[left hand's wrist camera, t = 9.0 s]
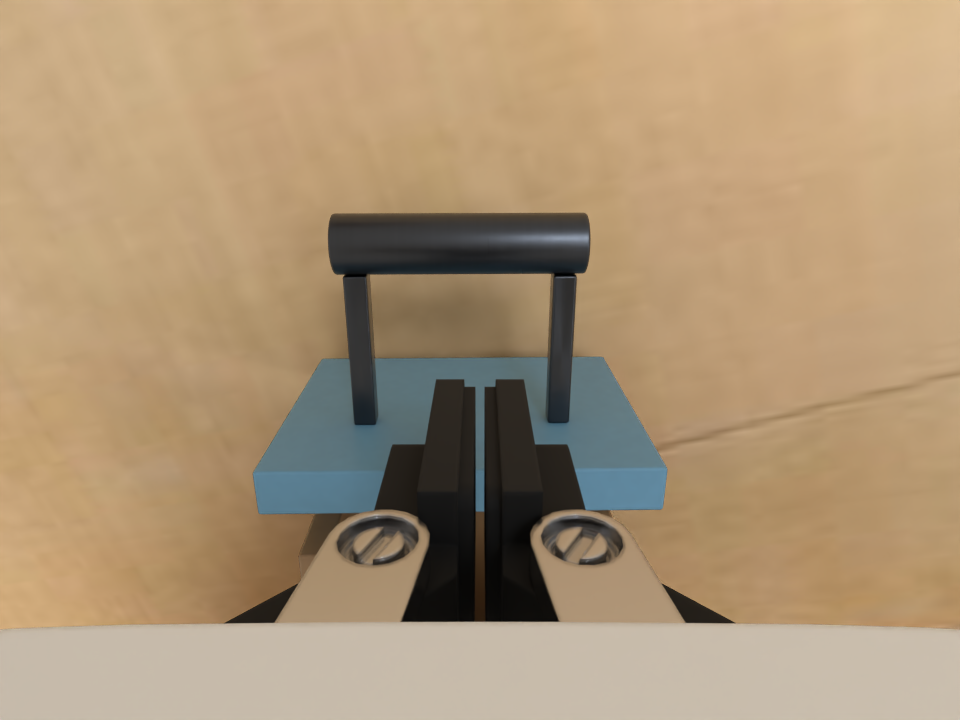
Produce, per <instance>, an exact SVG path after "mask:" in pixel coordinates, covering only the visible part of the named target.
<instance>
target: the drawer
mask: <svg viewBox="0 0 960 720" xmlns="http://www.w3.org/2000/svg"><path fill="white" fill-rule="evenodd" d="M328 250H329V258H330V263H331V267H332V270H333V272H334V273H335V274H337V275H344V277H343V287H344V299H345V312H346V325H347V338H348V351H349V359H322V360H321V362H320V363H319V365H318V367H317V368H316V370H315V372H314V373H313V375H312V377H311V378H310V380H309V381H308V383H307V385H306V386H305V388H304V390H303V391H302V393H301V395H300V396H299V398H298V400H297V401H296V403H295V404H294V406H293V408H292V409H291V411H290V413H289V414H288V416H287V418H286V419H285V421H284V423H283V424H282V426H281V427H280V429H279V431H278V432H277V434H276V436H275V437H274V439H273V441H272V442H271V444H270V446H269V447H268V449H267V450H266V452H265V454H264V455H263V457H262V459H261V460H260V462H259V464H258V465H257V467H256V469H255V470H254V472H253V478H254V485H255V492H256V499H257V506H258V512H259V514H315V515H314V517H313V520H312V523H311V525H310V528H309V530H308V533H307V536H306V538H305V541H304V543H303V546H302V548H301V551H300V554H299V564H300V572H301V579H302V577H303V575H304V574H305V572H306V571H307V569H308V567H309V566H310V564H311V562H312V561H313V559H314V558H315V556H316V554H317V553H318V551H319V549H320V548H321V546H322V545H323V543H324V541H325V540H326V538H327V536H328V535H329V533H330V532H331V531H332V530H333V529H334V528H335V527H336V526H337V525H338V524H339V523H341V522H342V521H344V520H346V519H347V518H349V517H351V516H354V515H357V514H359V513H362V512H367V511H373V510H374V509H375V505H376V501H377V498H378V494H379V490H380V487H381V483H382V479H383V476H384V472H385V468H386V465H387V461H388V457H389V454H390V450H391V447H392V445H393V444H425V441H426V435H427V429H428V423H429V418H430V412H431V406H432V400H433V394H434V388H435V383H436V379H464V382H465V387H475V391H476V553H475V622H485V553H484V391H485V387H495V382H496V379H524V383H525V388H526V394H527V400H528V406H529V412H530V418H531V423H532V429H533V435H534V441H535V444H567V445H568V447H569V450H570V454H571V457H572V461H573V465H574V468H575V472H576V476H577V479H578V483H579V487H580V490H581V494H582V498H583V501H584V505H585V509H586V510H587V511H593V512H598V513H601V514H603V515H606V516H609V517H611V518H612V515H611V513H610V510H660V509H662V508H663V503H664V494H665V486H666V477H667V467H666V465H665V464H664V462H663V460H662V458H661V457H660V455H659V453H658V452H657V450H656V448H655V446H654V445H653V443H652V441H651V439H650V438H649V436H648V434H647V433H646V431H645V429H644V427H643V426H642V424H641V422H640V420H639V419H638V417H637V415H636V413H635V412H634V410H633V408H632V407H631V405H630V403H629V401H628V400H627V398H626V396H625V394H624V393H623V391H622V389H621V387H620V386H619V384H618V382H617V381H616V379H615V377H614V375H613V374H612V372H611V370H610V368H609V367H608V365H607V363H606V362H605V360H604V358H603V357H573V339H574V321H575V302H576V284H577V277H576V275H575V273H585V272H586V269H587V266H588V262H589V255H590V225H589V219H588V216H587V214H585V213H387V214H333V215H332V216H331V218H330V221H329V227H328ZM370 274H551V286H550V312H549V337H548V357H510V358H375V352H374V336H373V320H372V304H371V288H370Z"/></svg>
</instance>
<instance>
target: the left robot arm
mask: <svg viewBox="0 0 960 720" xmlns="http://www.w3.org/2000/svg"><path fill="white" fill-rule="evenodd" d="M475 553H476V391H475V387H465V382H464V379H436V383H435V388H434V394H433V400H432V406H431V412H430V418H429V423H428V429H427V435H426V441H425V444H393V445H392V447H391V450H390V454H389V457H388V461H387V465H386V468H385V472H384V476H383V479H382V483H381V487H380V490H379V494H378V498H377V501H376V505H375V509H374V510H373V511H367V512H362V513H359V514H357V515H354V516H351V517H349V518H347V519H346V520H344V521H342V522H341V523H339V524H338V525H337V526H336V527H335V528H334V529H333V530H332V531H331V532H330V533H329V535H328V536H327V538H326V540H325V541H324V543H323V545H322V546H321V548H320V549H319V551H318V553H317V554H316V556H315V558H314V559H313V561H312V562H311V564H310V566H309V567H308V569H307V571H306V572H305V574H304V575H303V577H302V579H301V580H300V582H299V583H298V584H296V585H295V586H293V587H291V588H289V589H287V590H285V591H283V592H282V593H280V594H278V595H276V596H274V597H272V598H270V599H269V600H267V601H265V602H263V603H261V604H259V605H257V606H255V607H254V608H252V609H250V610H248V611H246V612H244V613H242V614H241V615H239V616H237V617H235V618H233V619H231V620H229V621H228V622H226V623H224V624H140V625H102V626H72V627H41V628H14V629H0V720H960V629H946V628H924V627H891V626H857V625H820V624H736V623H734V622H732V621H731V620H729V619H727V618H725V617H723V616H721V615H719V614H718V613H716V612H714V611H712V610H710V609H708V608H706V607H705V606H703V605H701V604H699V603H697V602H695V601H693V600H691V599H690V598H688V597H686V596H684V595H682V594H680V593H678V592H677V591H675V590H673V589H671V588H669V587H667V586H665V585H664V584H662V583H661V582H660V580H659V579H658V577H657V575H656V574H655V572H654V571H653V569H652V567H651V566H650V564H649V562H648V561H647V559H646V558H645V556H644V554H643V553H642V551H641V549H640V548H639V546H638V545H637V543H636V541H635V540H634V538H633V536H632V535H631V533H630V532H629V531H628V530H627V529H626V528H625V527H624V526H623V525H622V524H621V523H619V522H618V521H616V520H614V519H613V518H611V517H609V516H606V515H603V514H601V513H598V512H593V511H587V510H586V509H585V505H584V501H583V498H582V494H581V490H580V487H579V483H578V479H577V476H576V472H575V468H574V465H573V461H572V457H571V454H570V450H569V447H568V445H567V444H535V441H534V435H533V429H532V423H531V418H530V412H529V406H528V400H527V394H526V388H525V383H524V379H496V382H495V387H485V391H484V553H485V622H475Z"/></svg>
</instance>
